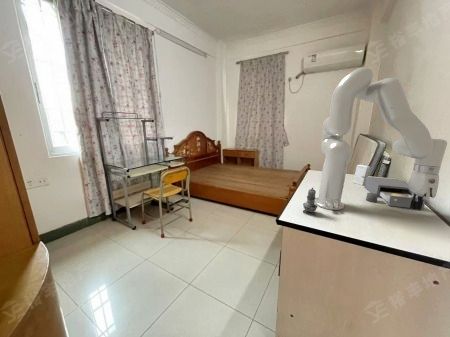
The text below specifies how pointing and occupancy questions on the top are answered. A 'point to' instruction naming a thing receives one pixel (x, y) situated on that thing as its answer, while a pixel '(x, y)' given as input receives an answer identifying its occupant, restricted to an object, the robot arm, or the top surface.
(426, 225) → the top surface
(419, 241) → the top surface
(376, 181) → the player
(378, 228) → the top surface
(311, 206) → the grey stone pagoda
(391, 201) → the grey drawer
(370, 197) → the puck
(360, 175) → the skincare box
